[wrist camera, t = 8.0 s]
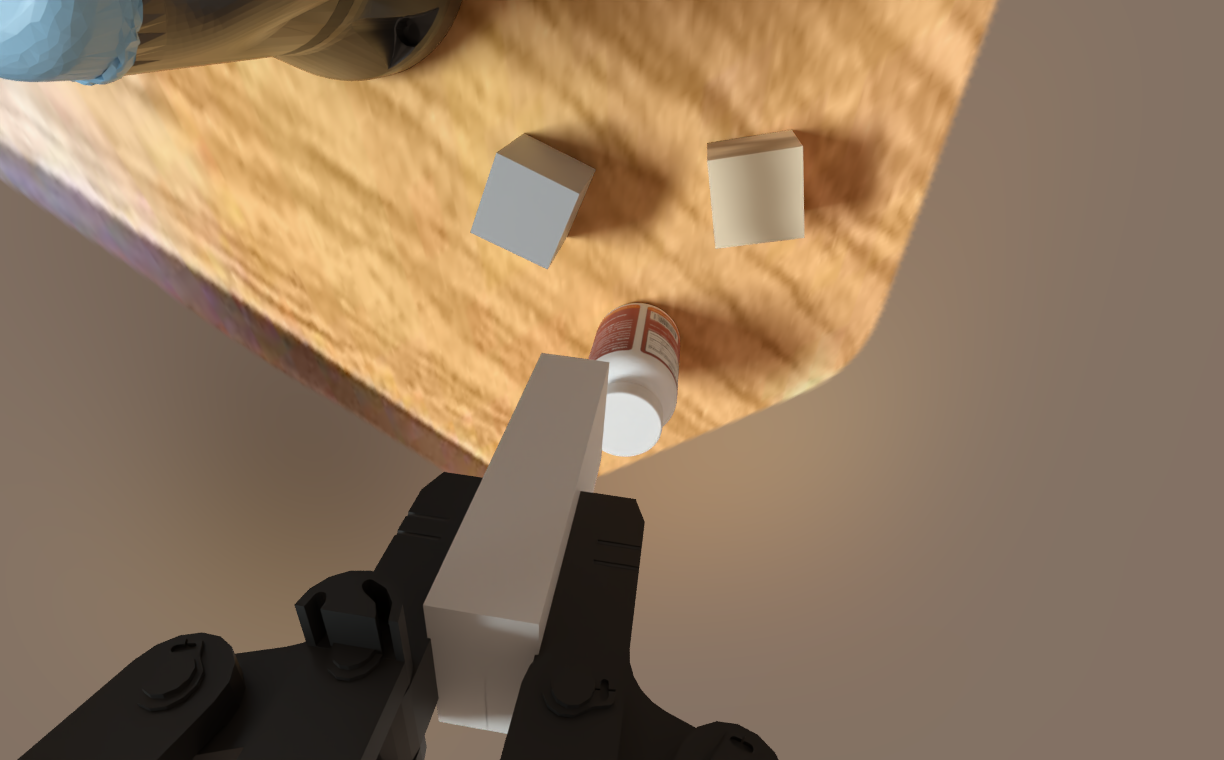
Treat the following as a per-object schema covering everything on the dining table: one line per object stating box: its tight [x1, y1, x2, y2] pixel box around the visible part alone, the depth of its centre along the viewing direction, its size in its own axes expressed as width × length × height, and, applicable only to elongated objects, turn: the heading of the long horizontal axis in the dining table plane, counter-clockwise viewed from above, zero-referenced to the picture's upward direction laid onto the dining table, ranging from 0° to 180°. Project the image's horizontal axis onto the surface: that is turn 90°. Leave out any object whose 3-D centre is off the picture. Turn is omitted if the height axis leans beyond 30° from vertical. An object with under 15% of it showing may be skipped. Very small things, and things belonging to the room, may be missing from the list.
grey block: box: [470, 133, 596, 269], centre depth 37 cm, size 5×5×6 cm
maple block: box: [707, 130, 804, 249], centre depth 36 cm, size 5×5×5 cm
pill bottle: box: [589, 303, 680, 457], centre depth 40 cm, size 6×6×11 cm
